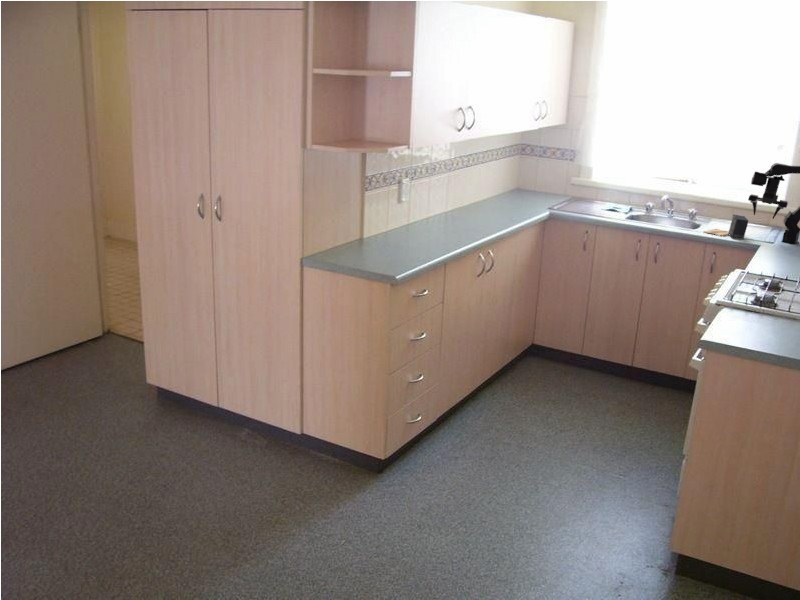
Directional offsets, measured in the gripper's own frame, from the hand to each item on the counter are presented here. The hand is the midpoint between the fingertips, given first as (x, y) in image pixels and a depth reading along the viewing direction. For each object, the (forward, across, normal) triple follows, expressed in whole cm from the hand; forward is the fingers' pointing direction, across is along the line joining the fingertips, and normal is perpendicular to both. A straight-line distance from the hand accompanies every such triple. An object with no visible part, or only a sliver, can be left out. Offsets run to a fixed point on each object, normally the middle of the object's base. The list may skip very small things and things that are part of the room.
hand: (763, 217), depth 414 cm
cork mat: (+14, -19, 0) cm, 24 cm away
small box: (+13, -10, -3) cm, 17 cm away
